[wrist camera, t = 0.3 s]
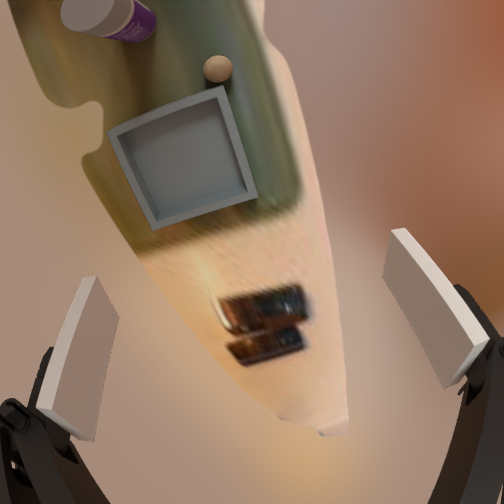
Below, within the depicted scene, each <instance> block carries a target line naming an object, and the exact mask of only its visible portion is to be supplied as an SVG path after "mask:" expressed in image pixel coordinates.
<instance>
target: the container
mask: <svg viewBox="0 0 504 504" xmlns="http://www.w3.org/2000/svg"><path fill="white" fill-rule="evenodd" d="M60 15H61V20H62V23H63V24H64V26H65V27H66V28H68V29H69V30H71V31H75V32H80V33H85V34H90V35H94V36H98V37H104V38H110V39H115V40H120V41H125V42H131V43H137V42H141V41H144V40H146V39H147V38H149V37H150V36H151V35H152V34H153V32H154V31H155V28H156V25H157V18H156V16H155V14H154V13H153V12H152V11H151V10H150V9H149V8H147V7H146V6H145V5H143V4H142V3H141V2H139V1H138V0H64V1H63V4H62V7H61V13H60Z"/></svg>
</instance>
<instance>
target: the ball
mask: <svg viewBox="0 0 504 504" xmlns="http://www.w3.org/2000/svg"><path fill="white" fill-rule="evenodd" d="M232 71H233V66H232V63H231V62H230V60H229V59H227V58H226V57H224V56H213V57H211V58H209V59H208V60H207V61H206V62H205V64H204V67H203V72H204V75H205V77H206V78H207V79H208V80H210V81H212V82H223V81H225V80H227V79H228V78H229V77H230V76H231V74H232Z"/></svg>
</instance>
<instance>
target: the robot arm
mask: <svg viewBox="0 0 504 504" xmlns="http://www.w3.org/2000/svg"><path fill="white" fill-rule="evenodd" d="M382 278H383V279H384V281H385V282H386V284H387V286H388V287H389V289H390V291H391V292H392V294H393V296H394V297H395V299H396V301H397V302H398V304H399V306H400V308H401V309H402V311H403V313H404V314H405V316H406V318H407V320H408V321H409V323H410V325H411V327H412V329H413V330H414V332H415V334H416V336H417V338H418V340H419V341H420V343H421V345H422V347H423V348H424V351H425V353H426V355H427V356H428V358H429V360H430V362H431V364H432V366H433V368H434V370H435V372H436V374H437V376H438V378H439V380H440V382H441V384H442V386H443V388H444V389H445V388H448V387H450V386H452V385H454V384H457V383H458V382H459V381H460V380H461V379H462V378H463V376H464V375H466V377H467V378H468V380H467V382H466V383H465V384H464V385H463V387H462V388H461V389H460V390H459V392H458V395H460V394H461V393H462V392H463V391H464V393H463V398H462V402H461V407H460V411H459V415H458V419H457V423H456V426H455V430H454V433H453V437H452V440H451V443H450V446H449V450H448V453H447V456H446V458H445V461H444V464H443V467H442V470H441V472H440V475H439V478H438V480H437V483H436V485H435V488H434V490H433V492H432V495H431V497H430V499H429V501H428V504H496V503H497V500H498V497H499V494H500V491H501V487H502V484H503V489H502V497H501V504H504V337H501V336H500V335H499V334H498V332H497V331H496V329H495V328H494V326H493V325H492V323H491V322H490V321H489V319H488V318H487V316H486V315H485V313H484V312H483V311H482V310H481V309H480V306H479V305H478V304H477V302H475V300H474V298H473V297H472V296H471V294H470V293H469V292H468V291H467V290H466V289H465V288H463V287H462V286H460V285H459V284H456V285H453V286H452V284H451V283H450V282H449V280H448V279H447V278H446V277H445V275H444V274H443V273H442V271H441V270H440V269H439V268H438V266H437V265H436V264H435V263H434V261H433V260H432V259H431V258H430V257H429V255H428V254H427V253H426V252H425V251H424V250H423V248H422V247H421V246H420V245H419V244H418V242H417V241H416V240H415V239H414V238H413V237H412V236H411V234H410V233H409V232H408V231H407V230H406V229H405V228H401V229H395V230H391V232H390V238H389V244H388V250H387V255H386V261H385V266H384V271H383V276H382ZM118 321H119V316H118V314H117V312H116V311H115V309H114V307H113V305H112V303H111V302H110V300H109V298H108V296H107V294H106V292H105V290H104V288H103V286H102V285H101V283H100V281H99V279H98V277H97V275H96V276H88V277H83V279H82V281H81V283H80V285H79V288H78V290H77V292H76V294H75V297H74V299H73V301H72V304H71V306H70V308H69V311H68V313H67V316H66V318H65V321H64V323H63V326H62V329H61V331H60V334H59V336H58V339H57V341H56V344H55V347H50V348H49V349H48V351H47V352H46V353H45V355H44V356H43V358H42V361H41V364H40V369H39V370H38V373H37V378H36V379H35V382H34V385H33V389H32V392H31V395H30V399H29V402H28V406H27V408H26V407H24V405H22V404H21V403H20V402H19V401H18V400H16V399H14V398H9V399H7V400H5V401H4V402H3V403H2V404H1V406H0V504H110V502H109V501H108V499H107V498H106V497H105V495H104V494H103V492H102V491H101V489H100V488H99V486H98V485H97V483H96V482H95V480H94V478H93V477H92V475H91V474H90V472H89V470H88V469H87V467H86V465H85V464H84V462H83V460H82V459H81V457H80V455H79V453H78V452H77V450H76V448H75V446H74V444H73V443H72V442H71V441H70V434H71V435H72V436H74V437H75V438H77V439H78V440H83V441H90V442H94V441H95V434H96V427H97V420H98V414H99V409H100V403H101V397H102V392H103V387H104V381H105V377H106V372H107V367H108V363H109V358H110V354H111V349H112V345H113V341H114V337H115V333H116V329H117V325H118ZM11 461H12V462H14V463H15V469H14V468H12V464H11Z"/></svg>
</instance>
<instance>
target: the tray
mask: <svg viewBox="0 0 504 504" xmlns="http://www.w3.org/2000/svg"><path fill="white" fill-rule="evenodd" d="M106 133H107V135H108V138H109V140H110V142H111V144H112V147H113V149H114V151H115V154H116V156H117V158H118V160H119V162H120V165H121V167H122V169H123V171H124V173H125V175H126V178H127V180H128V182H129V184H130V186H131V188H132V190H133V192H134V194H135V196H136V198H137V200H138V203H139V205H140V207H141V209H142V211H143V213H144V215H145V217H146V219H147V221H148V223H149V224H150V226H151V228H152V230H153V231H154V230H157V229H160V228H163V227H166V226H169V225H172V224H175V223H178V222H181V221H184V220H187V219H190V218H193V217H196V216H199V215H202V214H205V213H208V212H212V211H215V210H218V209H221V208H224V207H228V206H231V205H234V204H238V203H241V202H244V201H247V200H251V199H254V198H258V194H257V191H256V187H255V184H254V181H253V177H252V174H251V171H250V168H249V164H248V161H247V158H246V155H245V151H244V148H243V145H242V142H241V139H240V135H239V132H238V129H237V126H236V123H235V120H234V117H233V113H232V110H231V107H230V104H229V101H228V98H227V95H226V92H225V89H224V86H223V84H222V85H219V86H216V87H213V88H210V89H206V90H203V91H200V92H198V93H195V94H192V95H189V96H186V97H183V98H181V99H178V100H175V101H173V102H170V103H167V104H165V105H162V106H160V107H157V108H155V109H152V110H150V111H148V112H145V113H143V114H140V115H138V116H136V117H134V118H131V119H129V120H127V121H125V122H123V123H120V124H118V125H116V126H114V127H113V128H111V129H110V130H108V131H107V132H106Z"/></svg>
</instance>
